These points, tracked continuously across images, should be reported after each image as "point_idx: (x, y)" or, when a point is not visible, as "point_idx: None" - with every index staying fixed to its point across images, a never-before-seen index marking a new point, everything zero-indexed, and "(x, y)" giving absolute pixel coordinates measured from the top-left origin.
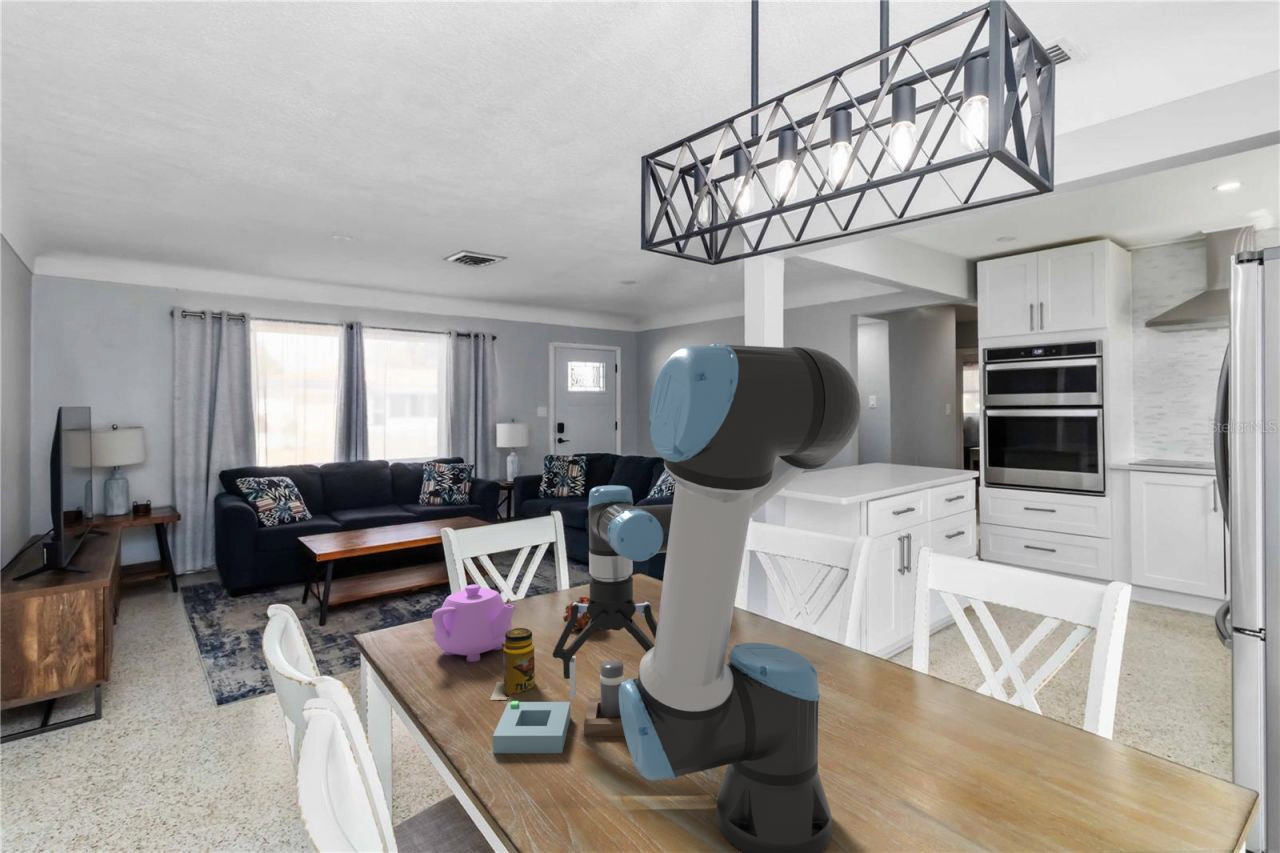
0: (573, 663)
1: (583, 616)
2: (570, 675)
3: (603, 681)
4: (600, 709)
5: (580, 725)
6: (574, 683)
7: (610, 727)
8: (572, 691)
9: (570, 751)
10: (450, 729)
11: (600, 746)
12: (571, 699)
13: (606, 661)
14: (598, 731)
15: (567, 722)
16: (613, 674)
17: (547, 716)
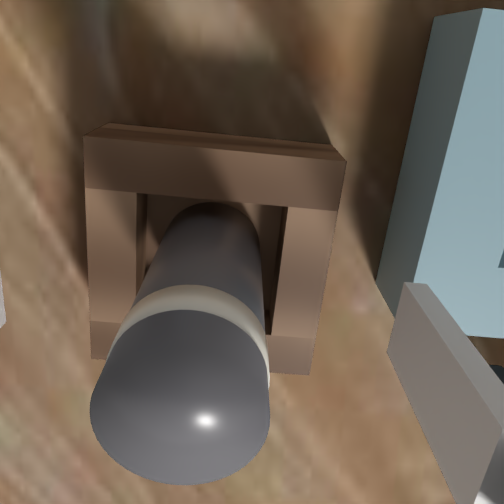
0: (502, 424)
1: None
2: (482, 361)
3: (248, 317)
4: None
5: (337, 271)
6: (429, 338)
7: (218, 145)
8: (429, 303)
9: (392, 85)
10: None
11: (265, 111)
12: (419, 283)
13: (221, 475)
14: (274, 146)
15: (412, 215)
16: (170, 323)
17: (501, 257)
